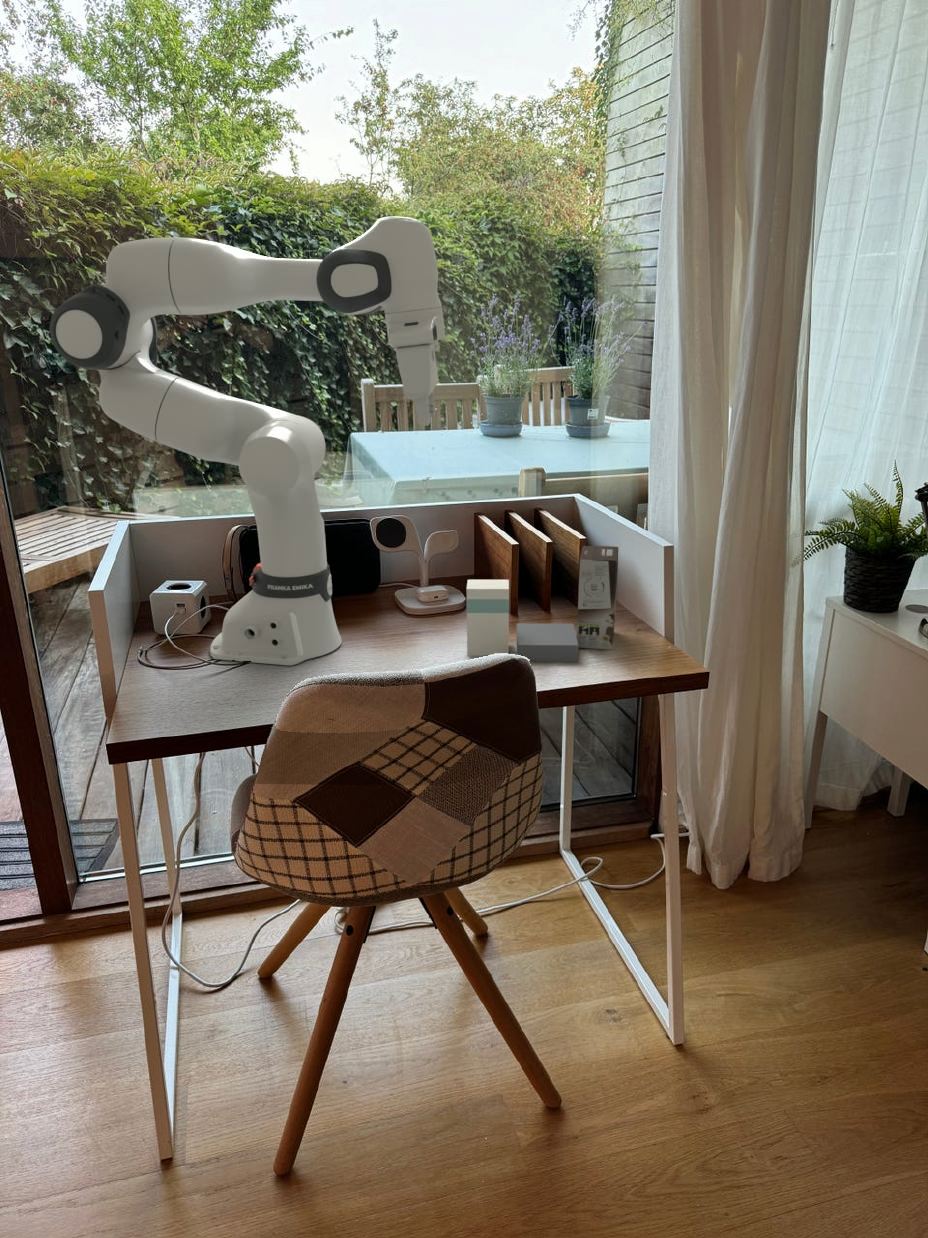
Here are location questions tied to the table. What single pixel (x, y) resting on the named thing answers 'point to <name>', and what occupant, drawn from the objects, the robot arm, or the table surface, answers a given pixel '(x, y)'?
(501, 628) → the carton
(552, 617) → the table surface
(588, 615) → the coffee box
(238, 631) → the robot arm
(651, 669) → the table surface
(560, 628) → the podium
